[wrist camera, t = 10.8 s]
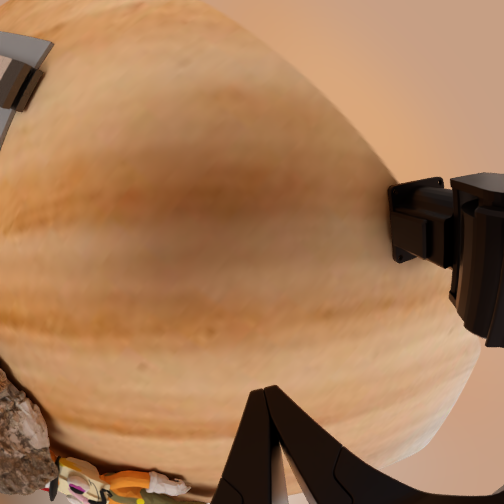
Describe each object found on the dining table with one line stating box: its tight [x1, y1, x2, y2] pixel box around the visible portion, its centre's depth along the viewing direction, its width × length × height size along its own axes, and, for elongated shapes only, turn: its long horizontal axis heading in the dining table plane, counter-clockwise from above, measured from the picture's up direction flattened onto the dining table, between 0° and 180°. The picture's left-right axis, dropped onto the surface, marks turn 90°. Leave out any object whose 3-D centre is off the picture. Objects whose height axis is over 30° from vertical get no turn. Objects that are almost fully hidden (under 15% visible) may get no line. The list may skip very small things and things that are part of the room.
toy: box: [41, 450, 207, 504], centre depth 22 cm, size 17×10×30 cm
